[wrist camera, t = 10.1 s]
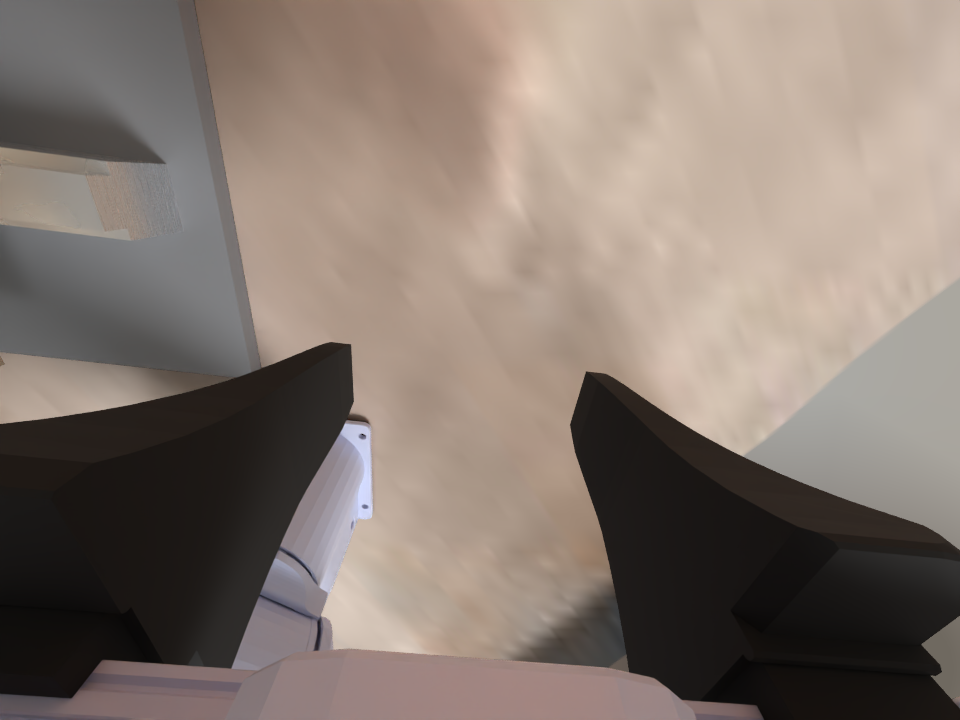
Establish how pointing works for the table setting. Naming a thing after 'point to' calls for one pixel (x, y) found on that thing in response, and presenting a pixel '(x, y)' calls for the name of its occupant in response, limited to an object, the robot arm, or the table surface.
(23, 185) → the metal ridge
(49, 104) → the base plate
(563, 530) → the table surface
